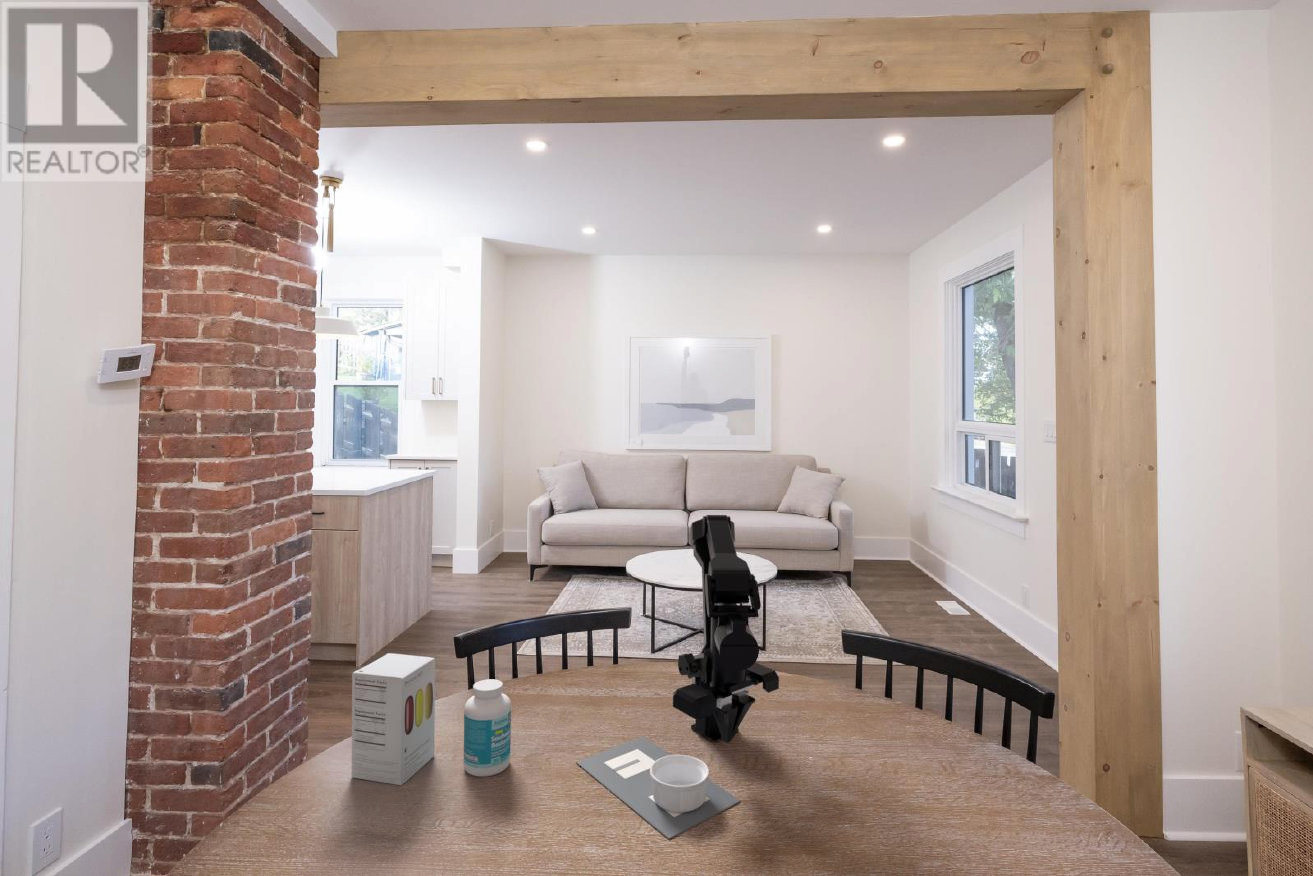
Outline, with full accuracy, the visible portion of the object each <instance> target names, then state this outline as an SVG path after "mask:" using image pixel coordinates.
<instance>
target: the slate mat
mask: <svg viewBox="0 0 1313 876" xmlns="http://www.w3.org/2000/svg"><path fill="white" fill-rule="evenodd" d="M669 755H672V754H671V753H670V752H668V751H666V750H665V749H663V748H662V747H660V746H659V745H657V744H656V743H654V742H652V740H650V739H648V738H646V737H645V736H640V737H638V738H635V739H632V740H629V741H627V742H625V743H621V744H619V745H616V746H614V747H611V748H609V749H606V750H603V751H601V752H599V753H596V754H593V755H590V756H588V757H585V758H583V759H580V760H577V761H575V764H577V765H578V766H579V767H580V766H581V767H580V768H582V769H583V770H584V771H585V772H586V773H588V775H589V776H591V777H593V779H595V780H596V781H597V782H598V783H599V784H601V785H602V786H603V787H604V788H606V789H607V790H608V791H609V792H610V793H612V794H613V795H614V796H615V797H616V798H618V799H619V800H620V801H621V802H622V803H624V804H625V805H626V806H627V807H628V808H630V809H631V810H632V811H633V812H634V813H635V814H637V815H638V816H639V817H641V818H642V819H643V820H644V821H645V822H647V823H648V824H649V825H650V826H652V827H653V828H654V829H655V830H656V831H658V832H659V833H660V834H661V835H663V836H664V837H665V838H667V840H671V839H673V838H675V837H676V836H678V835H680V834H682V833H684V832H686V831H688V830H690V829H691V828H694V827H695V826H698V825H699V824H701V823H703V822H704V821H706V820H709V819H710V818H712V817H714V816H716V815H718V814H721V813H722V812H724V811H726V810H728V809H730V808H731V807H733V806H735V805H737V804H739V803H741V802H742V801H741V800H740V799H739V798H737V797H736V796H734V795H733V794H732V793H730V792H728V791H727V790H726V789H724V788H723V787H721V786H720V785H718V784H716V782H713V781H712V780H710V779H709V778H708V780H707V790H706V797H705V800H704V803H703V804H702V805H701V806H700V807H698V808H697V809H695V810H692V811H689V812H672V811H668V810H665V809H663V808H662V807H660V806H659V805H658V804H657V803H656V802H655V800H654V798H653V790H652V779H651V776H650V768H651V765H652V764H653V763H654V762H655V761H656V760H658V759H659V758H662V757H665V756H669Z"/></svg>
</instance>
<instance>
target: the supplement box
mask: <svg viewBox="0 0 1313 876" xmlns="http://www.w3.org/2000/svg"><path fill="white" fill-rule="evenodd" d="M351 682H352V684H351V778H353V779H361V780H367V781H372V782H378V783H384V784H391V785H396V786H403V784H404V783H405V782H407V781H408V780H409V779H410V778H412V777H413V776H414V775H415V774H416V773H417V772H418V771H419V770H421V769H422V768H423V767H424V766H425V765H426V764H428V762H429V761H431V760H432V759H433V758H434V757H435V725H436V724H435V719H436V718H435V714H436V707H435V706H436V658H435V657H429V656H421V655H412V654H411V655H410V654H403V653H402V654H401V653H394V652H393V653H392V652H388V653H386V654H384V655H383V656H381V657H379V658H378V659H375V660H374V661H373V662H371V663H368V664H367V665H365V666H363V667H361V668H360V669H358V670H355V671H353V672H352V673H351ZM431 758H432V759H431Z"/></svg>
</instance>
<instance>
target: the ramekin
mask: <svg viewBox="0 0 1313 876" xmlns="http://www.w3.org/2000/svg"><path fill="white" fill-rule="evenodd" d="M709 774H710V768H709V767H708V765H707V764H706V763H705V762H704V761H703V760H701V759H699V758H697V757H696V756H695V757H694V756H691V755H688V754H687V755H686V754H671V755H669V756H665V757H662V758H659V759H658V760H656V761H655V762H654V763H653V764H652V765H651V768H650V776H651V779H652V790H653V798H654V800H655V802H656V803H657V804H658V805H659V806H660V807H662V808H663V809H665V810H668V811H672V812H689V811H692V810H695V809H697V808H698V807H700V806H701V805H702V804H703V803H704V800H705V797H706V790H707V780H708V779H709V777H710V775H709Z"/></svg>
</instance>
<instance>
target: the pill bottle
mask: <svg viewBox="0 0 1313 876" xmlns="http://www.w3.org/2000/svg"><path fill="white" fill-rule="evenodd" d="M503 691H504V683H503V682H502V681H501V680H499V679H493V678H492V679H490V678H489V679H487V678H486V679H481V680H479V681H477V682H475V683H474V684H473V685H472V694H473V695H472V696H471V697H469V698H468V699H467V700H466V703H465V704H464V709H463V768H464V770H465V772H466V773H468V774H469V775H471V776H475V777H482V778H484V777H490V776H495V775H497V774H500V773H501V772H503V771H505V770H506V768H508V766H510V762H511V746H512V745H511V743H512V742H511V738H512V737H511V736H512V735H511V732H512V730H511V729H512V728H511V727H512V724H511V723H512V722H511V721H512V716H511V715H512V702H511V699H510V698H509V696H508V695H506V694H505V693H503Z"/></svg>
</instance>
